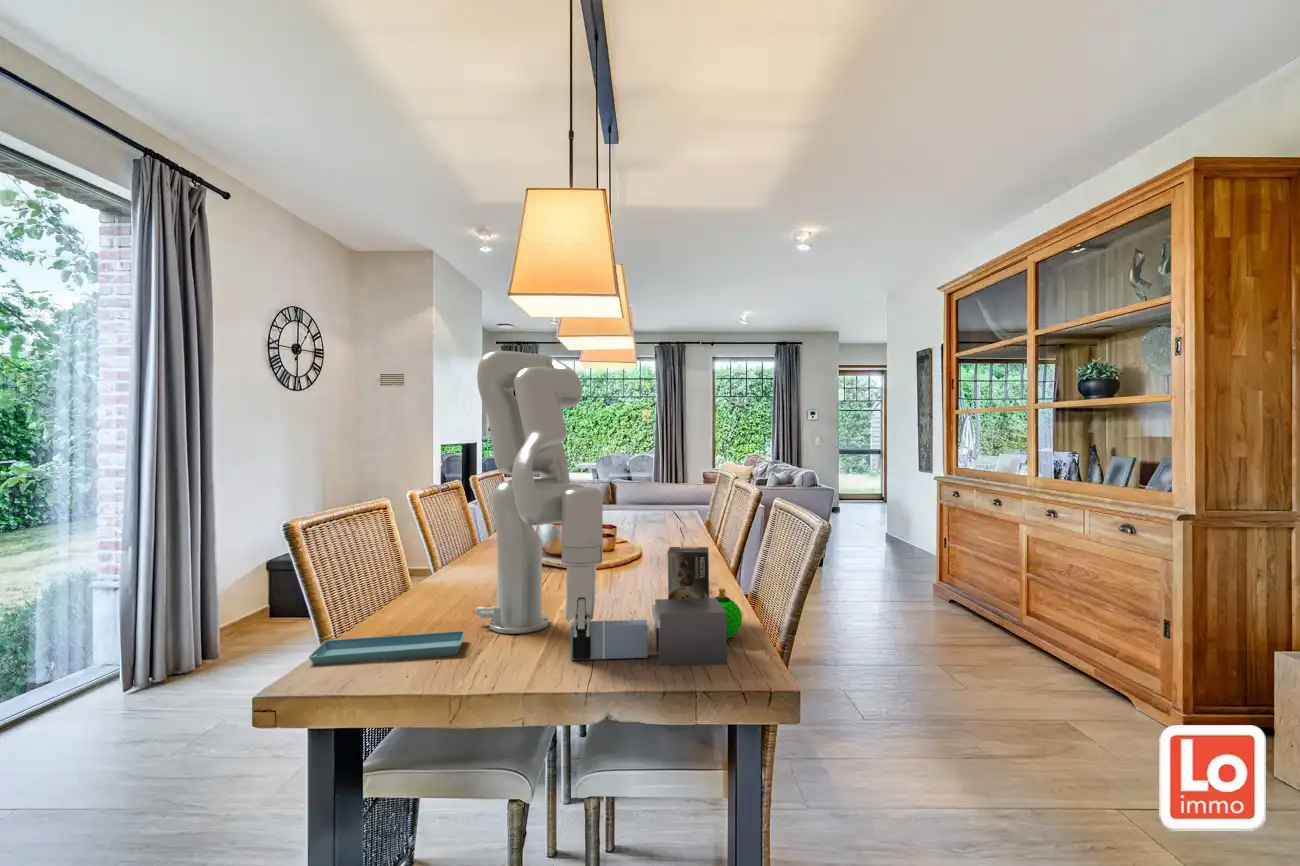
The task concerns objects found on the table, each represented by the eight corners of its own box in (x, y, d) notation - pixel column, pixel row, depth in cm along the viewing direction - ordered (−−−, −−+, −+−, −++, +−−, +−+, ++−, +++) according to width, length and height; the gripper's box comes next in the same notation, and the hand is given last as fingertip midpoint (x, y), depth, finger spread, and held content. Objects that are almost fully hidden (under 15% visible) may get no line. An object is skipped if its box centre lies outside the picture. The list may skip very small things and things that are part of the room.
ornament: (699, 632, 128) (699, 584, 128) (737, 631, 128) (737, 584, 128) (705, 645, 120) (705, 594, 120) (746, 644, 120) (746, 593, 120)
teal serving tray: (307, 668, 109) (307, 654, 109) (324, 651, 118) (324, 638, 118) (460, 658, 114) (460, 645, 114) (465, 642, 123) (465, 630, 123)
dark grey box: (656, 665, 109) (656, 614, 109) (651, 647, 119) (652, 599, 119) (726, 663, 110) (726, 612, 110) (716, 645, 120) (716, 598, 120)
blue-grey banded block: (570, 660, 111) (570, 626, 111) (571, 654, 114) (571, 621, 114) (647, 657, 112) (647, 624, 112) (646, 652, 115) (646, 619, 115)
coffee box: (709, 618, 138) (709, 546, 138) (709, 626, 132) (709, 551, 132) (669, 616, 139) (669, 545, 139) (667, 625, 133) (667, 550, 133)
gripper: (563, 547, 121) (563, 640, 120) (558, 563, 104) (558, 672, 104) (602, 546, 121) (601, 639, 121) (603, 563, 105) (602, 670, 105)
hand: (581, 653), depth 113 cm, fingers closed on blue-grey banded block, 3 cm apart
